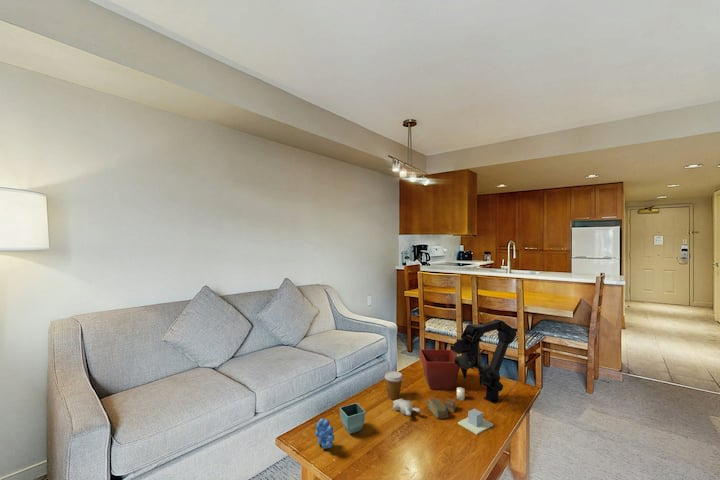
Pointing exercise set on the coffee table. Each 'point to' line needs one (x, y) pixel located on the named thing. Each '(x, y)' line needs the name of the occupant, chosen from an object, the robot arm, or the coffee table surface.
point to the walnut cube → (450, 405)
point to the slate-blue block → (475, 417)
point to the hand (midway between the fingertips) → (472, 381)
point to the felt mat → (472, 427)
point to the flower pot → (352, 417)
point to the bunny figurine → (404, 407)
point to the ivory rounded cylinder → (460, 393)
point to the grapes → (324, 433)
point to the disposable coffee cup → (393, 384)
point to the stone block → (437, 408)
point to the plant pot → (440, 368)
